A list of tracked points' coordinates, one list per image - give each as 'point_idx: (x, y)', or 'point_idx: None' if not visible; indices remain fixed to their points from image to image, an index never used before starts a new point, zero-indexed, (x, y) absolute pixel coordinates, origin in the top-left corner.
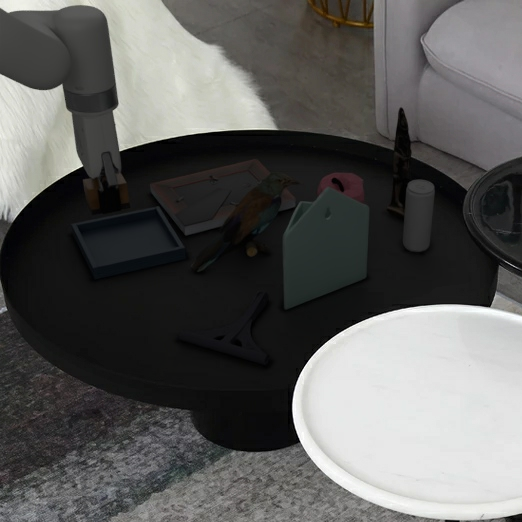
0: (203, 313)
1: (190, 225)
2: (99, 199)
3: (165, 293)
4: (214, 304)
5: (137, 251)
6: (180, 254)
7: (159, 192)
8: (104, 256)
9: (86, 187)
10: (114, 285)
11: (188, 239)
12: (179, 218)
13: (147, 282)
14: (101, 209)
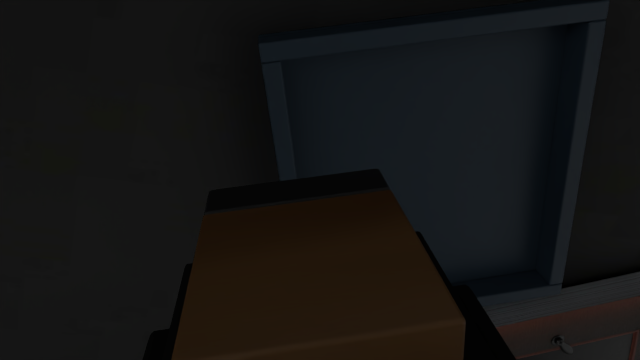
0: (12, 319)
1: None
2: (164, 356)
3: (131, 240)
4: (57, 346)
5: None
6: None
7: (631, 302)
8: (374, 92)
9: (254, 349)
10: (207, 97)
11: None
12: None
13: (203, 199)
14: (183, 286)
